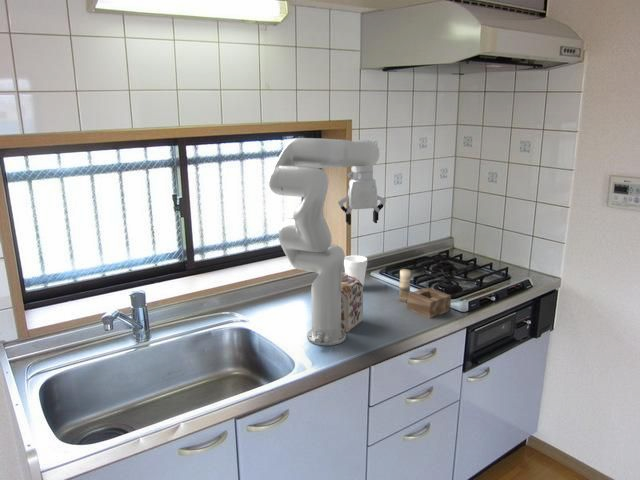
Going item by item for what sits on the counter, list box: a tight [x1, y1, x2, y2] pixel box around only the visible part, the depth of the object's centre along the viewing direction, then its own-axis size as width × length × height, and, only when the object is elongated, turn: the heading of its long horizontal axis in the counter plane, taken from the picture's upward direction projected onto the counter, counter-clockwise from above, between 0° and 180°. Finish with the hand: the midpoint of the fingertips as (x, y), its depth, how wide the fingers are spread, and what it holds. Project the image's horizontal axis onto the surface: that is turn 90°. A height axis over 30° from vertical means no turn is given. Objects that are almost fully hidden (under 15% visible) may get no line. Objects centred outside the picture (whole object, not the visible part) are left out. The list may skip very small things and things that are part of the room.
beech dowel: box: [398, 268, 411, 303], centre depth 198 cm, size 4×4×12 cm
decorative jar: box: [341, 271, 364, 333], centre depth 177 cm, size 12×12×18 cm
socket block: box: [406, 286, 452, 319], centre depth 190 cm, size 11×11×6 cm
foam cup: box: [343, 254, 368, 287], centre depth 210 cm, size 10×9×13 cm
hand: (362, 223), depth 186 cm, fingers open, 9 cm apart
